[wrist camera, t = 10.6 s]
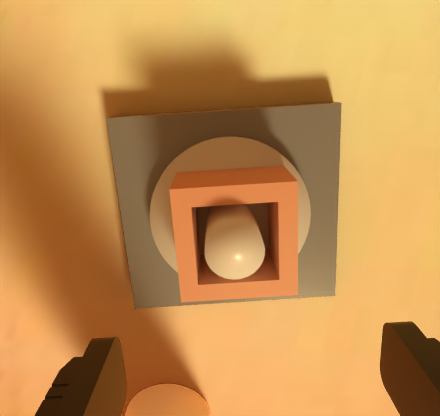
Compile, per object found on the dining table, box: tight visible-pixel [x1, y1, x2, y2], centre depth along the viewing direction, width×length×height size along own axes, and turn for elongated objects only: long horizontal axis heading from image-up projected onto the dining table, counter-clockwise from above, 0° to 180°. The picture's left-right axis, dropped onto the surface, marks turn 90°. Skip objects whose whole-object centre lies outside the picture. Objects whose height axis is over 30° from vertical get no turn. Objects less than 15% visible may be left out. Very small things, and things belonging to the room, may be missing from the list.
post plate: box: [106, 102, 341, 309], centre depth 22 cm, size 14×13×8 cm
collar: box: [169, 165, 298, 302], centre depth 22 cm, size 6×6×4 cm
